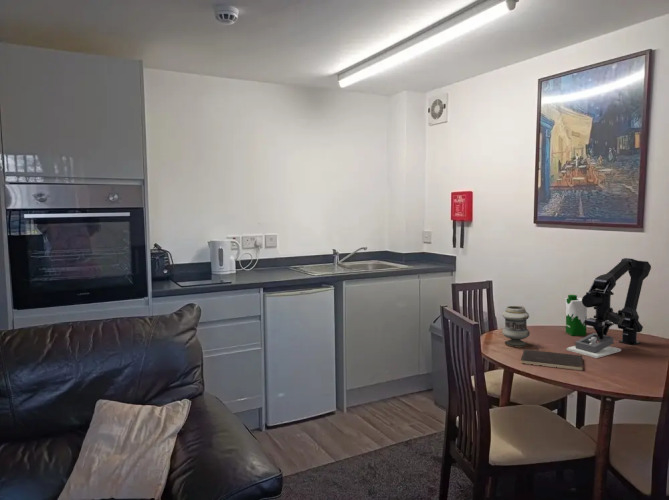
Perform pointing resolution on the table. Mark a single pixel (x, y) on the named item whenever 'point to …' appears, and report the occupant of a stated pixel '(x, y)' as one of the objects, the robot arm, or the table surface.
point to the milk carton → (575, 316)
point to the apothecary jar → (515, 325)
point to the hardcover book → (552, 359)
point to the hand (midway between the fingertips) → (602, 338)
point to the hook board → (600, 353)
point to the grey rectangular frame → (586, 346)
